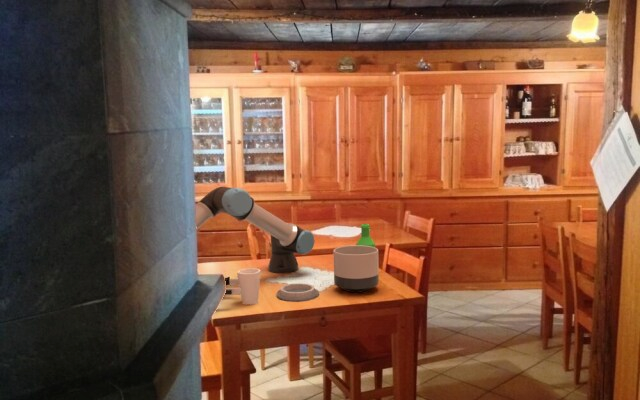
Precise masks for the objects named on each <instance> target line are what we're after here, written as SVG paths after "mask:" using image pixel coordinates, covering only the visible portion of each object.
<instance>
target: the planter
mask: <svg viewBox="0 0 640 400" xmlns="http://www.w3.org/2000/svg"><path fill="white" fill-rule="evenodd" d="M332 251H333V284H334V285H335V286H336V287H338V288H340V289H343V290H345V291H347V292H350V293H363V292H366V291H369V290H370V289H372V288H375V287H377V286H378V285H379V281H380V279H379V278H380V277H379V275H380V274H379V270H380V268H379V249H378V247H376V246H375V247H371V246H363V245H356V244H351V245H343V246H339V247H336V248H334V249H333V250H332Z"/></svg>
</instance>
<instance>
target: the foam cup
mask: <svg viewBox="0 0 640 400" xmlns="http://www.w3.org/2000/svg"><path fill="white" fill-rule="evenodd" d="M236 274H237V276H236V279H238V281H239V285H238V286H239V287H238V288H240V290H241V295H240V297H241V303H242V302H243V303H244V304H243V303H242V304H243V305H247V304H250V305H256V304H258V303H259V298H260V297H259V296H260V295H259V294H260V285H261V276H262V272H261V269H259V268H255V267H253V268H252V267H251V268H249V267H248V268H242V269H239V270H237V271H236Z"/></svg>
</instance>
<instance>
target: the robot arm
mask: <svg viewBox="0 0 640 400" xmlns="http://www.w3.org/2000/svg"><path fill="white" fill-rule="evenodd" d="M195 208H196V222H197V230H198V229H200V228H201V227H202V226H203V225H204V224H205V223H206V222H208V220H209V219H214V218H215V217H216V216H217V215H218V214H221V213H222V214H227V215H229V216H231V217H233V218H234V219H236V220H238V221H239V222H240V221H246V222H248V223H249V224H251V225H253V226H255V227H256V228H257V229H260V230H261V231H263V232H265V233H267V234H268V235H270V249H271V251H270V252H271V254H270V255H271V256H270V260H269V263H268V265H267V266H268V267H267V268H268V271H269V272H271V273H277V274H279V273H280V274H283V273H292V272H295V271H298V270H299V263H298V260H297V257H296V254H298V255H307V254H309V253H310V252H312V251H313V249H314V246H315V243H316V242H315V241H316V240H315V236H314V234H313V232H312V231H311V230H308V229H304V228H302V227H300V226H298V225H297V224H296V223H287V222H285V220H283V219H281V218H279V217H278V216H276V215H274V214H273V213H271V212H270V211H268V210H266V209H264V208H263V207H262V206H260V205H258V204H256V203H255V199H254V198H253V197H252V196H251V195H250V194H249V192H248V191H246V190H245V189H243V188H241V187H228V186H219V187H216V188H214V189H213V190H211V191H210V192H208V193H207V194H205V195H204V197H202V198H201V199H200V200H199V201H198V202H197V206H196V207H195ZM224 278H225V281H226V286H234V287H225V288H226V293H225V295H224V296H241V290H240V287H237V286H239V281H238V278H231V277H230V276H227V277H224ZM235 286H236V287H235Z"/></svg>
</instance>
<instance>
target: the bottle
mask: <svg viewBox="0 0 640 400" xmlns="http://www.w3.org/2000/svg"><path fill="white" fill-rule="evenodd" d="M370 228H371V226H370V224H369V223H362V224H361V225H360V229H361V233H360V234H361V236H360V237H359V239H358V241H357V242H356V244H355V245H363V246H371V247H375V248H376V243H375V242H374V240H373V239H372V237H371V236H370Z"/></svg>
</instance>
